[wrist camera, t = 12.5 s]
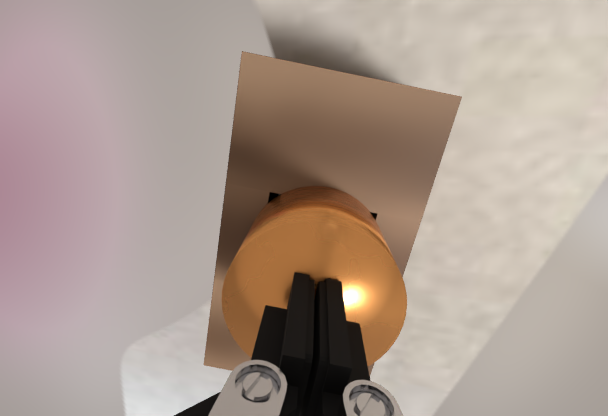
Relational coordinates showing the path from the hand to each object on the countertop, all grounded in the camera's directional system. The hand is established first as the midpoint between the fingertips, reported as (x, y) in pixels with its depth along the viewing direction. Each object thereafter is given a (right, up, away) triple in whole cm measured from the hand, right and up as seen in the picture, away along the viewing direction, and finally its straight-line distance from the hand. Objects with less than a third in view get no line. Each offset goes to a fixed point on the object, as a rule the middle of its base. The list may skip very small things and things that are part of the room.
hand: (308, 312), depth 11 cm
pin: (+1, +3, +9) cm, 10 cm away
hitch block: (+1, +3, +10) cm, 11 cm away
